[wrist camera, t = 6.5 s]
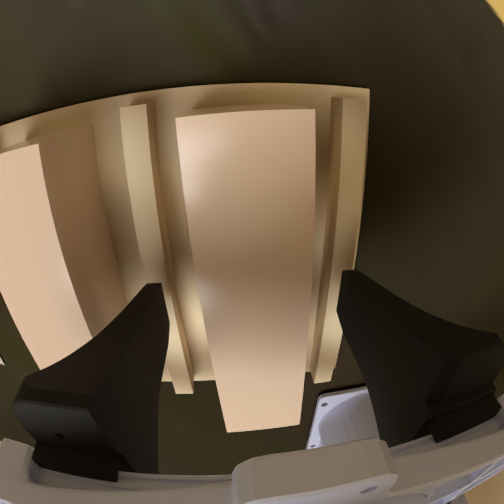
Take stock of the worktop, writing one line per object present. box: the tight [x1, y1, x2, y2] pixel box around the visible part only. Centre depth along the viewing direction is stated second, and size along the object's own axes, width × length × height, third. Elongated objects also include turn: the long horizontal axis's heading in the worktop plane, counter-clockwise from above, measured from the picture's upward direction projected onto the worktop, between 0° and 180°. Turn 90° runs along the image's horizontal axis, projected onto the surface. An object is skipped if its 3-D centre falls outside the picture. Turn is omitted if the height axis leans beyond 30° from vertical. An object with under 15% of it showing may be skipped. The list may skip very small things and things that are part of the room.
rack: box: [0, 83, 370, 394], centre depth 14 cm, size 16×18×2 cm
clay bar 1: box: [0, 124, 128, 370], centre depth 12 cm, size 14×4×4 cm, turn 1°
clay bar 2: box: [175, 103, 316, 432], centre depth 13 cm, size 14×4×4 cm, turn 3°
